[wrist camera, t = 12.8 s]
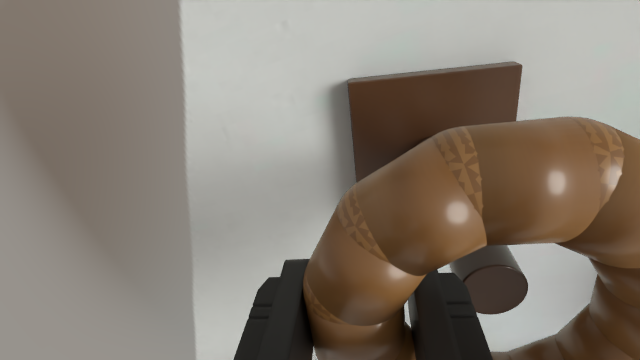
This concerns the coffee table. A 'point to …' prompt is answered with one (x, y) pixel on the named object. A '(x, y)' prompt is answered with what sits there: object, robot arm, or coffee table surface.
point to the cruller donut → (483, 234)
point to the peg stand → (427, 120)
